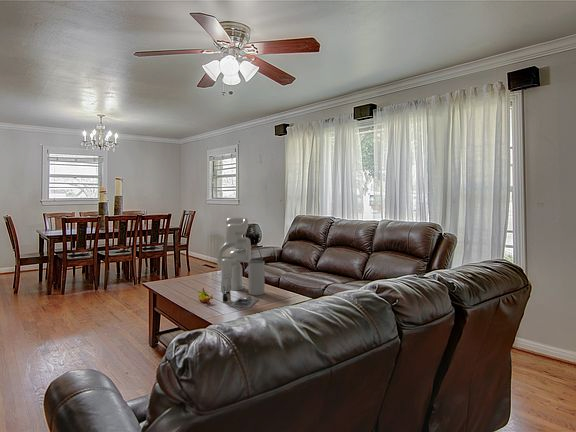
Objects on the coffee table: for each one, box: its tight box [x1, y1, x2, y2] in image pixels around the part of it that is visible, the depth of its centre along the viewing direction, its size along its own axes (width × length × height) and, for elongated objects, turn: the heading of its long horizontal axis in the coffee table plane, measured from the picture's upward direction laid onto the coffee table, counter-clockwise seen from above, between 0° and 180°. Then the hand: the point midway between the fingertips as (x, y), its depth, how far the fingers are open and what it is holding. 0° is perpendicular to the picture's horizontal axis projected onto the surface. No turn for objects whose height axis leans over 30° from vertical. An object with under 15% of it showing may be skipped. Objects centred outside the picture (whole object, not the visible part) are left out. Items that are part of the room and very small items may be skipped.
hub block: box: [222, 293, 232, 304], centre depth 270 cm, size 5×5×5 cm
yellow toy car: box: [197, 287, 214, 305], centre depth 269 cm, size 6×18×10 cm, turn 36°
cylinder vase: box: [248, 260, 266, 296], centre depth 291 cm, size 12×12×25 cm
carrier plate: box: [230, 296, 259, 309], centre depth 267 cm, size 20×14×2 cm
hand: (226, 300), depth 270 cm, fingers closed on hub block, 4 cm apart
